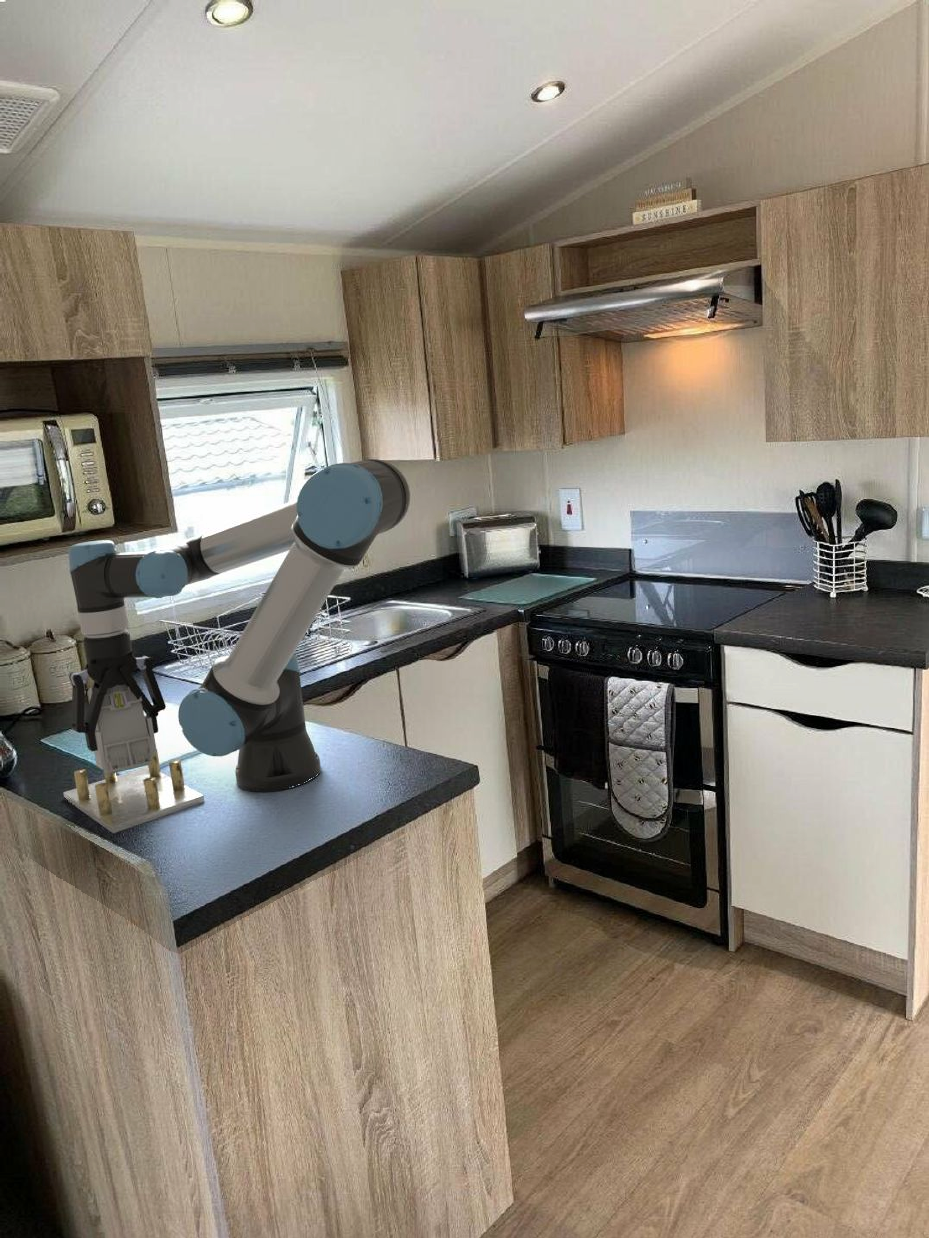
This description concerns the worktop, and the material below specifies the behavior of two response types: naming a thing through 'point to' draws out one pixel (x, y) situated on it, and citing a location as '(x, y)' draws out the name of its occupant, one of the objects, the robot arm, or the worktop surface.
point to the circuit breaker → (123, 730)
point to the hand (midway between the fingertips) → (127, 759)
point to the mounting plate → (133, 795)
